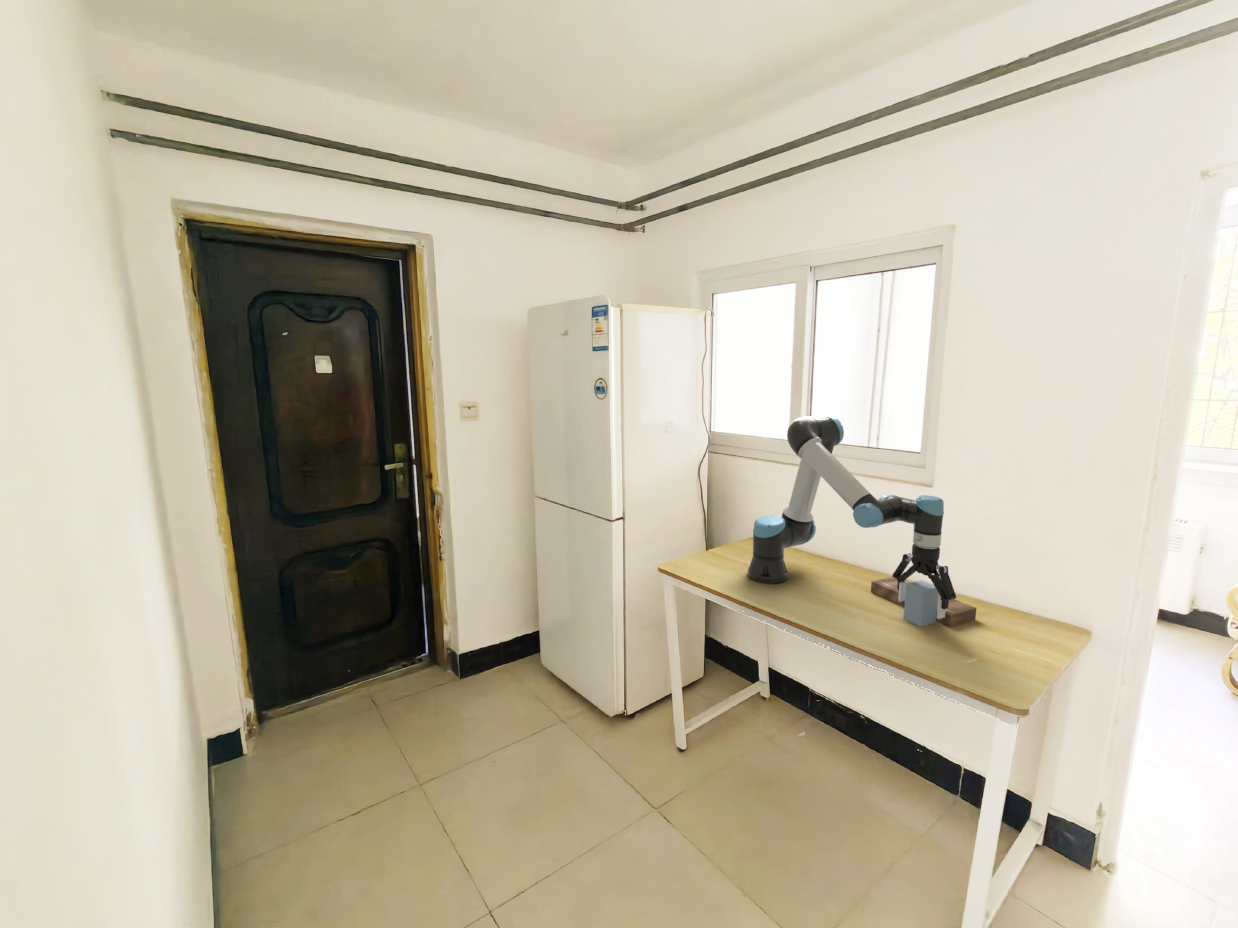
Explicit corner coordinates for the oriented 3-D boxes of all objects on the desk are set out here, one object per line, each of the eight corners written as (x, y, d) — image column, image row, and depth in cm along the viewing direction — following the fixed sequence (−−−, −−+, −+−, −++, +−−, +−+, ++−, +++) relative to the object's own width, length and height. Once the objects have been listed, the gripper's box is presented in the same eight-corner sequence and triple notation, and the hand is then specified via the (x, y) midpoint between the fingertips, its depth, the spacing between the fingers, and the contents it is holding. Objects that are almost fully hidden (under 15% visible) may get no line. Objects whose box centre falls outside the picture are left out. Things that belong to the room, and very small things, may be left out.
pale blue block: (903, 618, 172) (906, 583, 170) (927, 612, 176) (930, 578, 174) (920, 626, 166) (923, 590, 164) (944, 619, 170) (947, 584, 168)
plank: (870, 591, 193) (871, 580, 192) (894, 585, 197) (895, 575, 197) (950, 627, 166) (951, 614, 165) (975, 619, 170) (976, 607, 170)
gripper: (883, 535, 176) (879, 596, 179) (956, 559, 153) (950, 628, 157) (899, 532, 179) (895, 592, 182) (974, 555, 156) (967, 622, 160)
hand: (920, 608), depth 170 cm, fingers open, 13 cm apart
